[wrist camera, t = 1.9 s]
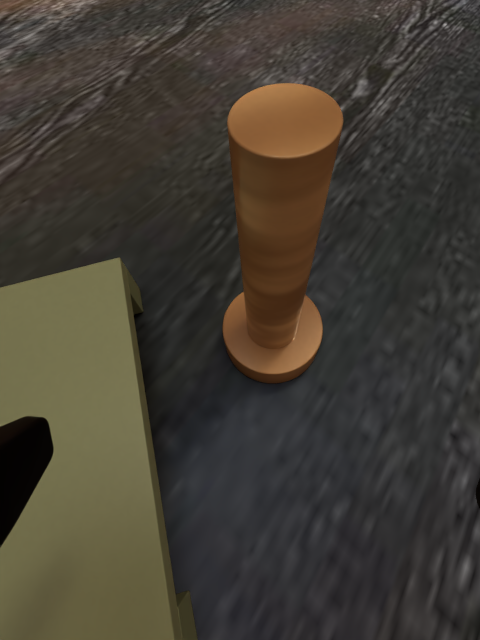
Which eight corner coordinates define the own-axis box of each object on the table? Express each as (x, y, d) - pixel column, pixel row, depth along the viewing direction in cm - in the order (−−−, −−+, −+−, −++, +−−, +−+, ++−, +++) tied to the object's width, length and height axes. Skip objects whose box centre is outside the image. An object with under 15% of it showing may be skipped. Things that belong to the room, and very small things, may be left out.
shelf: (198, 641, 16) (180, 683, 13) (-87, 734, 15) (-188, 806, 12) (139, 288, 25) (119, 256, 21) (-45, 336, 24) (-96, 311, 20)
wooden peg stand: (337, 351, 22) (459, 134, 8) (257, 402, 21) (247, 247, 7) (283, 283, 24) (309, 29, 11) (209, 326, 23) (133, 102, 10)
